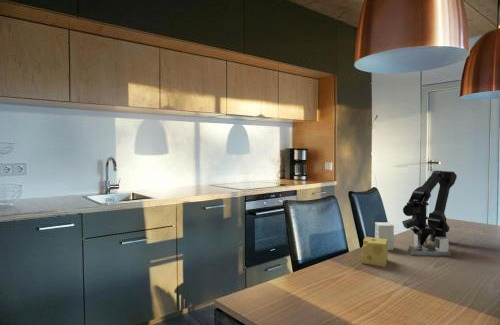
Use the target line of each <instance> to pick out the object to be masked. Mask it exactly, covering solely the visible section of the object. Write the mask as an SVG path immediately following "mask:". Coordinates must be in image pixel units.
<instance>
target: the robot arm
mask: <svg viewBox="0 0 500 325" xmlns="http://www.w3.org/2000/svg"><path fill="white" fill-rule="evenodd" d="M457 177H458V176H457V174H456V173H455V171H446V170H433V171H432V173H431V175H430V176H429V177H428V178H427V180H426V181H425V182H424V183H423V185H421V186H418V187H417V188H416V189H414V190H413V191H412V193H411V195H410V197H409V200H408V201H407V202H406V204H405V205H404V206H403V208H402V212H403V214H404V215H405V216H406V217H411V218H408V219H405V220H402V222H401V223H402V226H403V228H404V229H407V230H408V229H410V230H411V231H412V232H413V234H414V233H415V234H419V238H420V245H423V244H424V242H425V241H426V239H428V237H429V236H430V238H429V240H430V241H432V242H433V243H434V238H435V237H445V238H447V233H448V232H449V231H450V226H449V224H448V223H447V217H446V214H445V212H446V207H447V203H448V198H449V194H450V189H451V188H452V187H453V186H454V185H455V183H456V181H457ZM438 184H439V188H438V192H437V196H436V201H435V205H434V206H435V207H434V209H433V210H434V211H432V212H429V213H428V216H427V211H428V209H427V206H429V205H430V203H429V199H430V198H431V197H432V195H431V194H432V191H433V190H434V189H435V188H436V186H437V185H438Z"/></svg>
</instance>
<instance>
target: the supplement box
mask: <svg viewBox="0 0 500 325" xmlns="http://www.w3.org/2000/svg"><path fill="white" fill-rule="evenodd" d="M394 228H395V226H394V225H393V224H392V223H391V222H387V221H385V222H378V221H376V222H374V238H381V239H388V251H394V249H395V248H394V240H395V238H394V232H395V230H394Z"/></svg>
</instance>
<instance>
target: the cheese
mask: <svg viewBox="0 0 500 325" xmlns="http://www.w3.org/2000/svg"><path fill="white" fill-rule="evenodd" d="M362 241H363V243H362V244H363V245H362V247H361V252H362V253H361V257H360V262H361V264H363V265H364V264H365V265H370V266H378V267H383V268H385V267H386V265H387V263H388V262H387V261H388V253H389V252H388V251H389V250H388V239H381V238H375V237H370V236H364V238H363V240H362Z"/></svg>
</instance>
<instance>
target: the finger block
mask: <svg viewBox="0 0 500 325" xmlns="http://www.w3.org/2000/svg"><path fill="white" fill-rule="evenodd" d="M427 239H428V238H427ZM427 239H426V241H425V242H424V244H423V245H420V238H419V234H415V233H414V232H413V245H414V246H415V247H417V248H422V246H425V247H426V245H427Z"/></svg>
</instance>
